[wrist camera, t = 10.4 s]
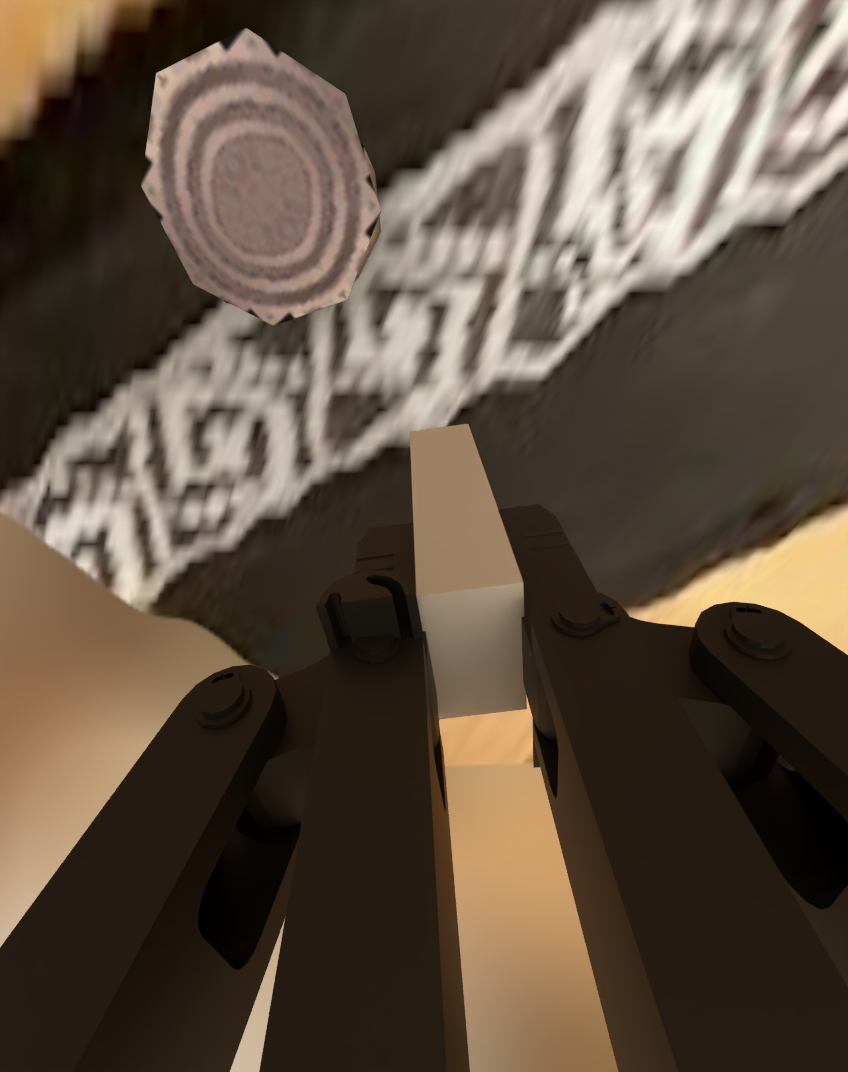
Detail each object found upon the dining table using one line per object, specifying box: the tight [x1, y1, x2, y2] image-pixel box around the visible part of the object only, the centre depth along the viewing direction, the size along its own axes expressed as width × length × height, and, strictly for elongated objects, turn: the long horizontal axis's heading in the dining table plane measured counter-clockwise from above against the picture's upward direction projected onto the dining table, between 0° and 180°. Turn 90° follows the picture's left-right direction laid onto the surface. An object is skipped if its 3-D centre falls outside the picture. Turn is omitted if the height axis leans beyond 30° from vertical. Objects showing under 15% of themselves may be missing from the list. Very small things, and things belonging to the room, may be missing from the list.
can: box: [141, 28, 381, 326], centre depth 29 cm, size 11×11×12 cm
